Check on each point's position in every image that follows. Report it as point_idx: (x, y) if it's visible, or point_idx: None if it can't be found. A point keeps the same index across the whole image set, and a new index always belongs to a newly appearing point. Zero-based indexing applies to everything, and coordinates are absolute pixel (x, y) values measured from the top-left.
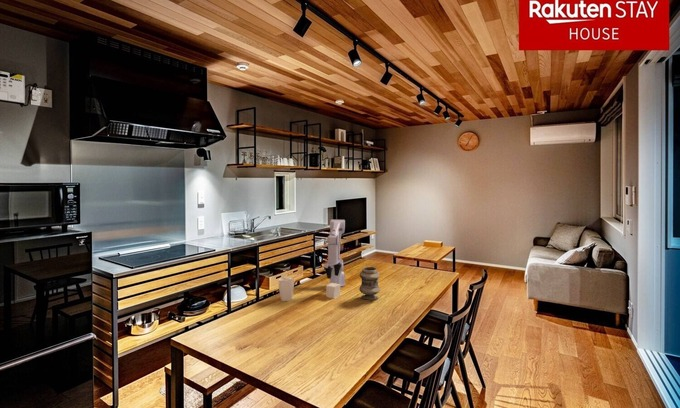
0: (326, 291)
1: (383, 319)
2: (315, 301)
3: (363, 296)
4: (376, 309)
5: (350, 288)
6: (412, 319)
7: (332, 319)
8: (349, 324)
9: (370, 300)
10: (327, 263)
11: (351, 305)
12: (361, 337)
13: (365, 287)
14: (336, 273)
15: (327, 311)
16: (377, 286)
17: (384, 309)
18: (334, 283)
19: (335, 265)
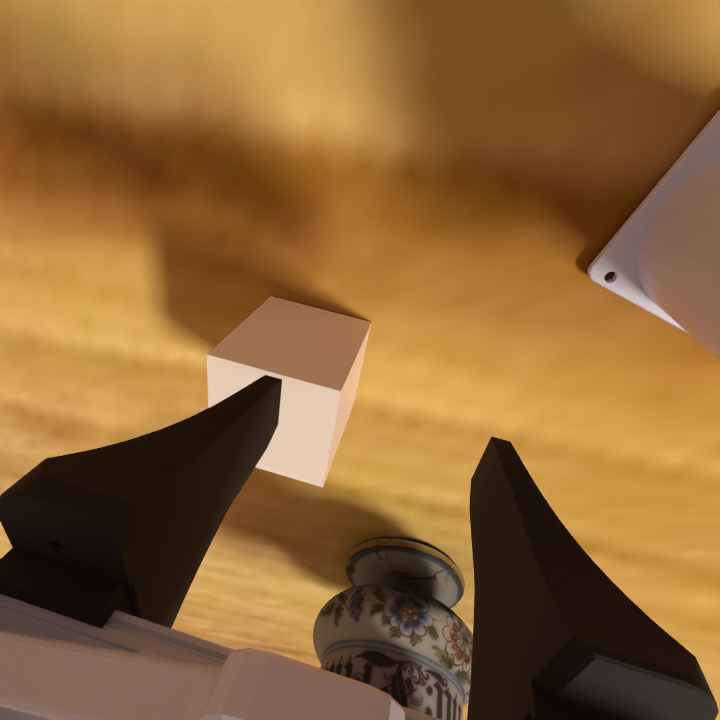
0: (245, 322)
1: (179, 620)
2: (116, 254)
3: (381, 561)
4: (258, 603)
5: (618, 434)
6: None
7: (13, 459)
8: None
9: (353, 585)
10: (72, 685)
11: None
12: None
13: (322, 663)
14: (482, 494)
15: (57, 409)
16: None
17: (279, 627)
18: (323, 424)
19: (523, 665)
